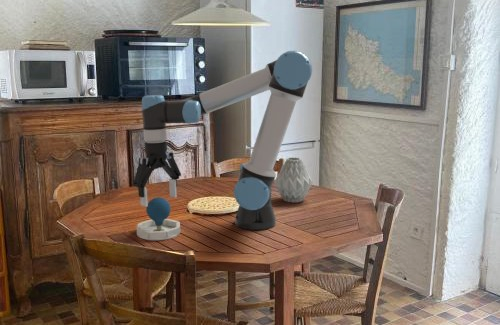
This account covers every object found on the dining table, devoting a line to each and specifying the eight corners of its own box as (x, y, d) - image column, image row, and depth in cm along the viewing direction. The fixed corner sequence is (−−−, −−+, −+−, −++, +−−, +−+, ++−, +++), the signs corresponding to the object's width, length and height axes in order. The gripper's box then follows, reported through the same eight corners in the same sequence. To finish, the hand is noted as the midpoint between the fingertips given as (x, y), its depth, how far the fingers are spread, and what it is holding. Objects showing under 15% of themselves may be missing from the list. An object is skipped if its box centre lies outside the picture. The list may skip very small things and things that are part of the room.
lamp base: (189, 231, 181) (188, 224, 180) (157, 243, 169) (157, 235, 168) (159, 223, 190) (159, 216, 189) (128, 234, 178) (127, 226, 177)
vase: (271, 204, 215) (271, 161, 212) (278, 194, 231) (279, 154, 227) (309, 206, 212) (310, 163, 208) (314, 196, 227) (315, 156, 224)
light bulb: (172, 233, 176) (171, 200, 174) (148, 235, 174) (146, 201, 172) (169, 225, 184) (169, 193, 182) (146, 227, 182) (145, 195, 180)
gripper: (173, 135, 185) (177, 192, 189) (118, 145, 165) (123, 208, 170) (188, 137, 180) (191, 194, 184) (134, 147, 161) (138, 211, 165)
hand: (159, 201), depth 177 cm, fingers open, 13 cm apart
